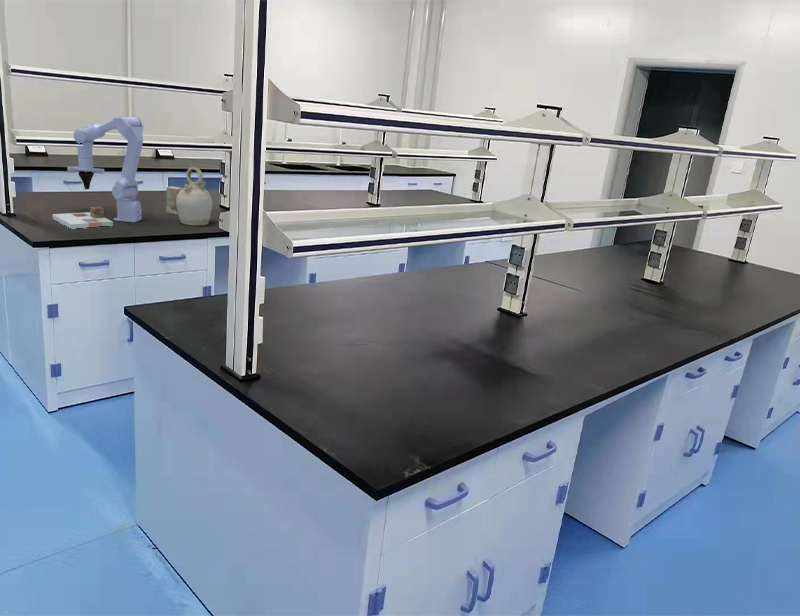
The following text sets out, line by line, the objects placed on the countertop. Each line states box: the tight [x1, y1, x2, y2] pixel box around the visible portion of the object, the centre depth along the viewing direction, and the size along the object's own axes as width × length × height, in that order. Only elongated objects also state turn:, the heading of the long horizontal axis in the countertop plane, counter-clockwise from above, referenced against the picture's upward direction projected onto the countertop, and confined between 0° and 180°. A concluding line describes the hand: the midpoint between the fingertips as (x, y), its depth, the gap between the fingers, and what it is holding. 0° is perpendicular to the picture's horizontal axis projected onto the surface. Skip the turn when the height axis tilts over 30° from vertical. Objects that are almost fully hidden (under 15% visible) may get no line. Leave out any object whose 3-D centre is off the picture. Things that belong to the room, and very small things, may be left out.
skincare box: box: [165, 185, 184, 215], centre depth 297 cm, size 6×4×12 cm
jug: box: [176, 166, 213, 226], centre depth 280 cm, size 15×16×25 cm
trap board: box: [52, 211, 114, 230], centre depth 263 cm, size 16×20×2 cm
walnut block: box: [89, 206, 105, 218], centre depth 266 cm, size 4×4×4 cm
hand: (87, 188), depth 279 cm, fingers closed
